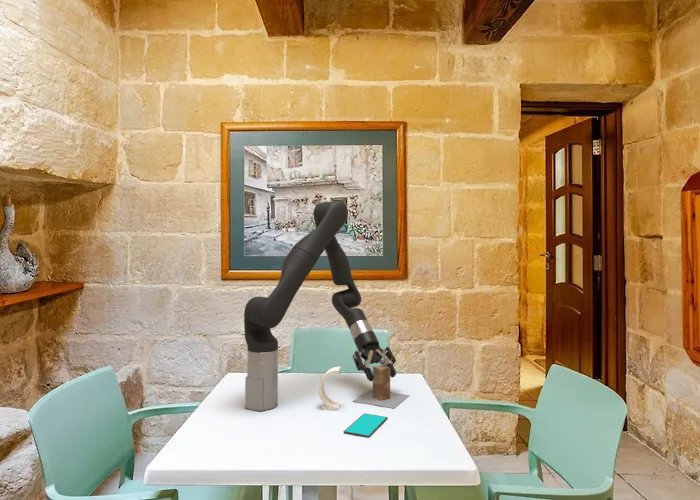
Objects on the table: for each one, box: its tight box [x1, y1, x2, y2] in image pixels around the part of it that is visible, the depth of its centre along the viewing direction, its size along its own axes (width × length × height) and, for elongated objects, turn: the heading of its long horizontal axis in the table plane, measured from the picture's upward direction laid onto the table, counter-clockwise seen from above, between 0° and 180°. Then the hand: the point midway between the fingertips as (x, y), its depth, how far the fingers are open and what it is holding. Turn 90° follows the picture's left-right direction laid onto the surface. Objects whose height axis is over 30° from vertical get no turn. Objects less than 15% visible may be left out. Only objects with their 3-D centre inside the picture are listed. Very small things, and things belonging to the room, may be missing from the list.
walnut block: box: [372, 364, 391, 401], centre depth 149 cm, size 4×4×10 cm
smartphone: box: [343, 412, 388, 439], centre depth 126 cm, size 7×1×15 cm
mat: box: [352, 388, 410, 409], centre depth 149 cm, size 14×14×1 cm
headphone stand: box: [318, 366, 341, 411], centre depth 140 cm, size 5×6×12 cm
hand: (383, 378), depth 148 cm, fingers open, 8 cm apart
